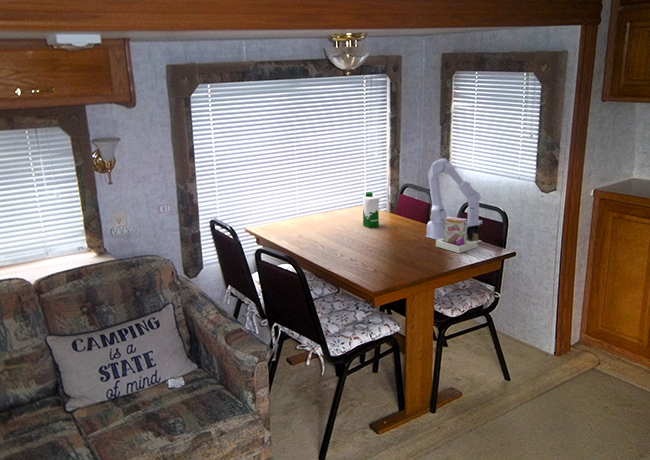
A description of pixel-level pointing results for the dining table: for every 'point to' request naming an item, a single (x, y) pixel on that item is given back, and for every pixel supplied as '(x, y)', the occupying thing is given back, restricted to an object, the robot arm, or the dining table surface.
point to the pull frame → (469, 245)
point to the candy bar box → (455, 231)
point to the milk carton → (370, 210)
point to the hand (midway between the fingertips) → (471, 238)
